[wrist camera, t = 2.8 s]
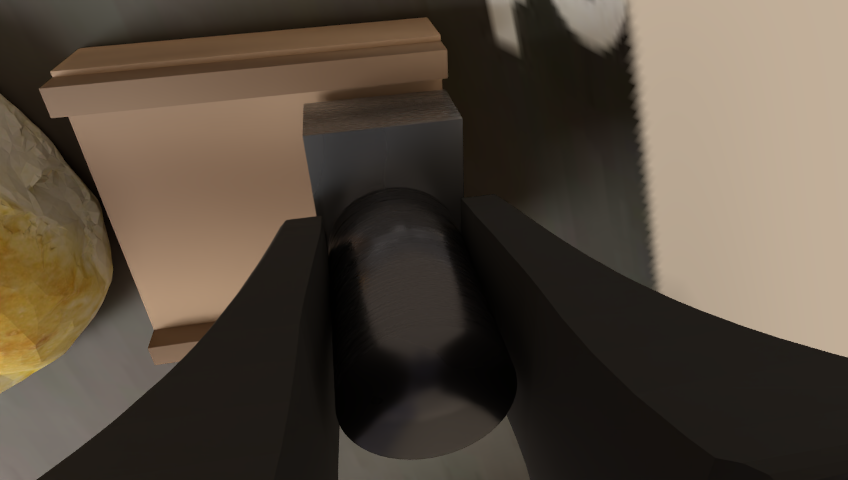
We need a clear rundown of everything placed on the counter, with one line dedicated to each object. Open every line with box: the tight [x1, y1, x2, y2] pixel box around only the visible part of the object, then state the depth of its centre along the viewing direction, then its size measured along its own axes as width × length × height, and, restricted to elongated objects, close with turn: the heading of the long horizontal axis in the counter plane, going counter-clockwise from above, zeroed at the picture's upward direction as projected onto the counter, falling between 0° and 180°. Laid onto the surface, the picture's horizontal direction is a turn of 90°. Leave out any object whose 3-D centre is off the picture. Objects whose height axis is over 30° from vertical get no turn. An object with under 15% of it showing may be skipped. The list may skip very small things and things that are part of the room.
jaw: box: [303, 89, 517, 460], centre depth 10 cm, size 5×3×5 cm, turn 3°
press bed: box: [39, 17, 448, 365], centre depth 12 cm, size 6×7×2 cm
